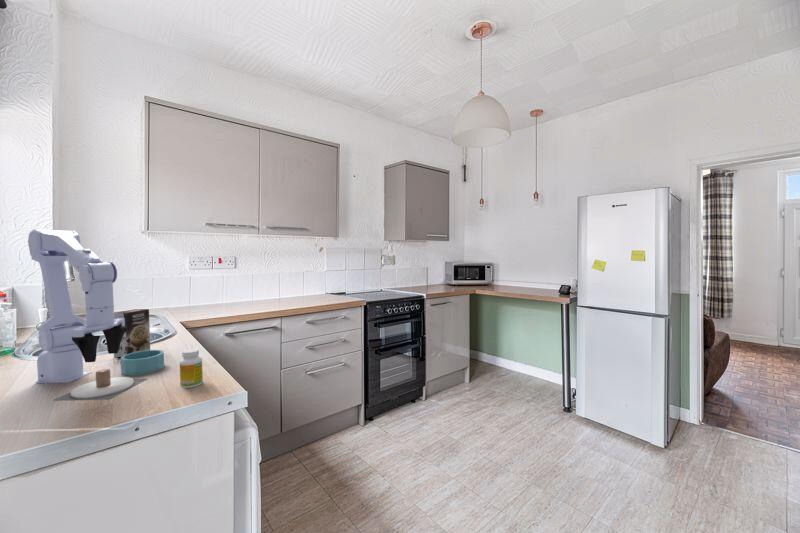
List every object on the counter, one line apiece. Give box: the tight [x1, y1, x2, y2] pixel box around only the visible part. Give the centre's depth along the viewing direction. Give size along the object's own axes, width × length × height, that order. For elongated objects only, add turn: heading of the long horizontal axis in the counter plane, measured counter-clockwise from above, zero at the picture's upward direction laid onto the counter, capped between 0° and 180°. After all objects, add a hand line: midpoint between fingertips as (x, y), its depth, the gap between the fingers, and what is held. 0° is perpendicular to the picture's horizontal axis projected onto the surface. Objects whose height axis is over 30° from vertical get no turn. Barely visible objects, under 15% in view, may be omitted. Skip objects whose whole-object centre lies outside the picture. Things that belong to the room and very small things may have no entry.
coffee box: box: [113, 308, 151, 358], centre depth 127 cm, size 9×6×16 cm
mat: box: [53, 378, 148, 401], centre depth 94 cm, size 14×14×1 cm
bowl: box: [120, 349, 165, 376], centre depth 110 cm, size 11×11×5 cm
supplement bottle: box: [179, 348, 204, 389], centre depth 98 cm, size 5×5×10 cm
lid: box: [70, 368, 135, 399], centre depth 94 cm, size 13×13×5 cm
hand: (102, 357), depth 94 cm, fingers open, 7 cm apart
